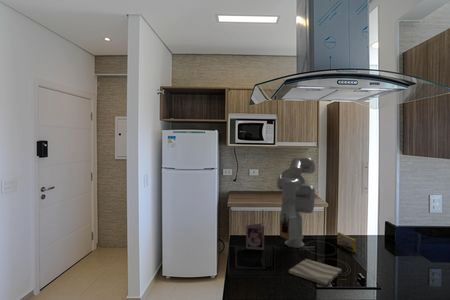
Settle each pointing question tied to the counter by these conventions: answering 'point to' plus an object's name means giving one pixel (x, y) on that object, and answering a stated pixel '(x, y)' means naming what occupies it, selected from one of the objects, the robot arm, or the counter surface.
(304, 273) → the birch board
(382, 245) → the counter surface
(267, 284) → the counter surface
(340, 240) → the candy box
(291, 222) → the small box
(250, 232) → the greeting card
